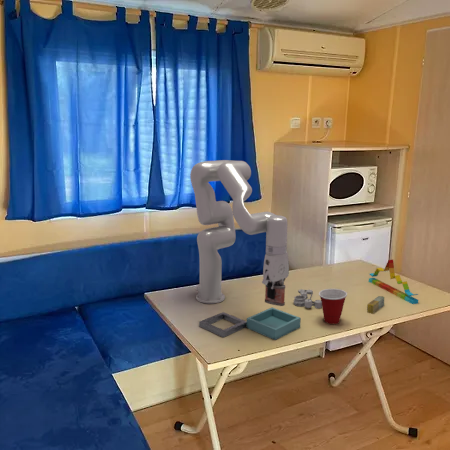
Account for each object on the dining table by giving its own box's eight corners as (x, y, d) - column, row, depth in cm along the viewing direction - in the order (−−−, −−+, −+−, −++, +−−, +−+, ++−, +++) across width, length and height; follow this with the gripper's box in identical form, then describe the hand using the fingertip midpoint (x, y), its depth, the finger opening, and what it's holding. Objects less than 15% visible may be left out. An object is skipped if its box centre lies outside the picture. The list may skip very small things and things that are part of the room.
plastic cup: (315, 315, 194) (316, 287, 191) (342, 315, 193) (343, 287, 191) (319, 326, 183) (321, 297, 180) (347, 327, 183) (350, 298, 180)
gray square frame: (199, 326, 183) (199, 321, 182) (223, 316, 192) (223, 311, 191) (223, 337, 174) (223, 332, 173) (247, 326, 183) (247, 321, 182)
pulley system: (311, 319, 192) (343, 312, 197) (311, 308, 191) (343, 301, 196) (279, 298, 217) (308, 292, 222) (278, 288, 216) (307, 282, 221)
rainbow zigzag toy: (418, 303, 207) (422, 271, 204) (412, 304, 206) (416, 271, 203) (374, 281, 235) (376, 251, 232) (368, 282, 234) (371, 252, 230)
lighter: (286, 303, 179) (287, 278, 177) (282, 306, 176) (283, 281, 174) (267, 299, 183) (267, 274, 181) (263, 302, 180) (263, 277, 178)
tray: (246, 327, 182) (246, 318, 181) (271, 316, 192) (272, 307, 191) (275, 340, 172) (275, 329, 171) (300, 327, 182) (300, 317, 181)
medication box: (378, 304, 206) (378, 295, 205) (384, 305, 205) (384, 296, 204) (366, 312, 197) (367, 303, 196) (373, 314, 196) (373, 305, 195)
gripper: (269, 256, 167) (268, 305, 171) (298, 247, 178) (296, 293, 182) (253, 251, 172) (252, 299, 176) (282, 243, 183) (280, 288, 187)
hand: (274, 296), depth 179 cm, fingers closed on lighter, 3 cm apart
